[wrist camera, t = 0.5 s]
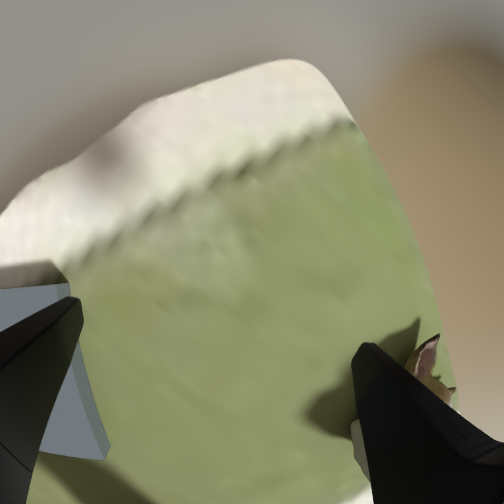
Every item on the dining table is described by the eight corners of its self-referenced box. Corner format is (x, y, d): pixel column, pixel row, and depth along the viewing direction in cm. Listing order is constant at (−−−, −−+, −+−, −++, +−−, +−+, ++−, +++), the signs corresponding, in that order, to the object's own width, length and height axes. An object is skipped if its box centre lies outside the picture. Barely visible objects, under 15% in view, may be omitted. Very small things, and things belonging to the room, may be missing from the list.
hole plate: (110, 446, 20) (104, 460, 18) (-3, 428, 18) (-13, 437, 15) (69, 282, 21) (55, 284, 18) (-40, 292, 18) (-55, 294, 15)
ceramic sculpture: (361, 467, 15) (480, 336, 19) (314, 420, 24) (419, 325, 27) (394, 509, 16) (491, 403, 19) (353, 469, 24) (440, 385, 28)
